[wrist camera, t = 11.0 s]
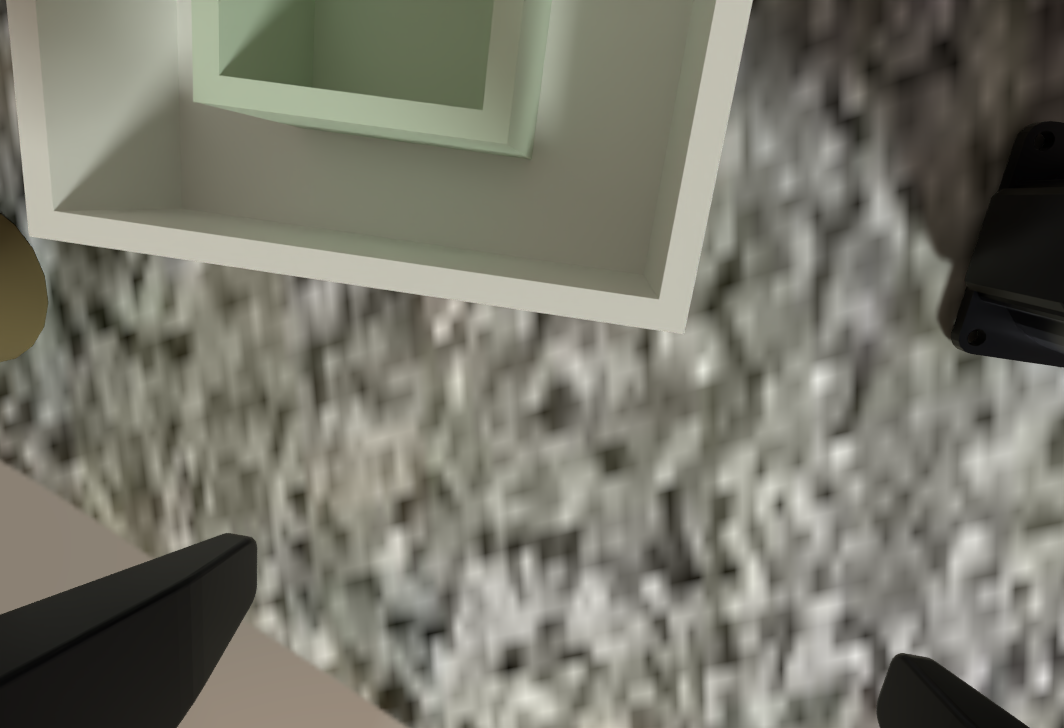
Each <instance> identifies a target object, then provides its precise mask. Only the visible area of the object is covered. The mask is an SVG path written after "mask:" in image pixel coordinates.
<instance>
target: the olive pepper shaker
mask: <svg viewBox="0 0 1064 728" xmlns="http://www.w3.org/2000/svg"><path fill="white" fill-rule="evenodd" d="M47 307H48V298H47V290H46V283H45V276H44V274H43V271H42V269H41V267H40V264H39V262H38V260H37V257H36V255H35V253H34V250H33V248H32V247H31V246H30V245H29V243H28V242H27V241H26V239H25V238H24V237H23V235H22V234H21V233H20V231H19V230H18V229H17V227H16V226H15V225H14V224H13V223H11V222H10V221H9V220H8V219H6V218H5V217H4V216H3V215H1V214H0V362H3V361H7V360H11V359H15V358H17V357H18V356H20V355H21V354H22V353H24V352H25V351H26V350H28V349H29V348H30V347H32V346H33V345H34V343H35V341H36V340H37V338H38V336H39V334H40V333H41V331H42V329H43V328H44V324H45V318H46V313H47Z"/></svg>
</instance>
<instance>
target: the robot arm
mask: <svg viewBox="0 0 1064 728" xmlns="http://www.w3.org/2000/svg"><path fill="white" fill-rule="evenodd" d="M1038 134H1042V135H1043V137H1044V144H1043V146H1042V147H1041V149H1039V150H1037V149H1036V148H1035V146H1034V140H1035V138H1036V136H1037V135H1038ZM965 282H966V284H967V287H966V290H965V293H964V296H963V300H962V303H961V306H960V309H959V312H958V315H957V318H956V321H955V324H954V327H953V330H952V334H951V340H952V343H953V345H954V346H955V347H956V348H957V349H960V350H962V351H965V352H967V353H970V354H976V355H983V356H989V357H996V358H1003V359H1010V360H1017V361H1023V362H1030V363H1037V364H1044V365H1051V366H1057V367H1064V123H1061V122H1053V121H1049V122H1040V123H1034V124H1031V125H1029V126H1027V127H1025V128H1024V129H1023V130H1022V131H1021V132H1020V133H1019V134H1018V136H1017V138H1016V140H1015V143H1014V146H1013V149H1012V152H1011V155H1010V158H1009V161H1008V164H1007V167H1006V170H1005V173H1004V176H1003V179H1002V182H1001V185H1000V188H999V191H998V193H996V194H995V195H994V196H993V197H992V198H991V201H990V204H989V207H988V210H987V213H986V216H985V219H984V222H983V225H982V228H981V231H980V234H979V237H978V240H977V244H976V247H975V250H974V253H973V256H972V259H971V262H970V265H969V268H968V271H967V274H966V277H965ZM975 329H977V331H978V336H977V338H976V339H975V340H974V341H973V342H971V343H969V342H968V335H969V334H970V332H972V331H973V330H975ZM256 589H257V544H256V541H255V540H254V539H253V538H252V537H248V536H243V535H237V534H231V533H225V534H222V535H219V536H216V537H214V538H211V539H208V540H205V541H202V542H200V543H197V544H194V545H191V546H189V547H186V548H183V549H180V550H178V551H175V552H172V553H169V554H167V555H164V556H161V557H158V558H156V559H153V560H150V561H147V562H144V563H142V564H140V565H136V566H133V567H131V568H128V569H125V570H122V571H120V572H117V573H114V574H111V575H109V576H106V577H103V578H101V579H98V580H95V581H92V582H89V583H87V584H84V585H81V586H78V587H75V588H73V589H70V590H68V591H64V592H62V593H59V594H56V595H53V596H51V597H48V598H45V599H42V600H40V601H37V602H34V603H31V604H29V605H26V606H23V607H20V608H17V609H15V610H12V611H9V612H7V613H4V614H1V615H0V728H177V727H178V725H179V724H180V722H181V721H182V720H183V718H184V716H185V715H186V713H187V712H188V711H189V709H190V708H191V706H192V705H193V703H194V702H195V700H196V698H197V697H198V695H199V694H200V692H201V690H202V689H203V687H204V686H205V684H206V682H207V680H208V679H209V677H210V675H211V674H212V672H213V670H214V668H215V667H216V665H217V663H218V661H219V660H220V658H221V656H222V655H223V653H224V651H225V649H226V647H227V646H228V644H229V642H230V641H231V639H232V637H233V636H234V634H235V632H236V630H237V628H238V627H239V625H240V623H241V622H242V620H243V618H244V617H245V615H246V613H247V611H248V610H249V608H250V606H251V604H252V602H253V600H254V597H255V594H256ZM877 719H878V723H879V726H880V728H1029V727H1028V726H1027V725H1025V724H1024V723H1022V722H1021V721H1020V720H1018V719H1017V718H1015V717H1014V716H1012V715H1011V714H1010V713H1008V712H1007V711H1005V710H1004V709H1002V708H1001V707H1000V706H998V705H997V704H995V703H994V702H993V701H991V700H990V699H988V698H987V697H985V696H984V695H983V694H981V693H980V692H978V691H977V690H976V689H974V688H973V687H971V686H970V685H968V684H967V683H966V682H964V681H963V680H961V679H960V678H958V677H957V676H956V675H954V674H953V673H951V672H950V671H949V670H947V669H946V668H944V667H943V666H941V665H940V664H939V663H937V662H936V661H934V660H933V659H930V658H927V657H922V656H916V655H911V654H905V653H900V654H897V655H896V656H895V657H894V658H893V659H892V661H891V663H890V666H889V669H888V672H887V675H886V677H885V680H884V683H883V686H882V689H881V691H880V694H879V697H878V701H877Z"/></svg>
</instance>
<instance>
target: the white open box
mask: <svg viewBox="0 0 1064 728" xmlns="http://www.w3.org/2000/svg"><path fill="white" fill-rule="evenodd" d="M752 2H753V0H552V5H551V12H550V20H549V28H548V36H547V44H546V52H545V59H544V67H543V75H542V83H541V91H540V99H539V106H538V114H537V122H536V130H535V138H534V145H533V153H532V160H531V159H523V158H516V157H509V156H502V155H494V154H487V153H480V152H472V151H465V150H458V149H450V148H443V147H436V146H429V145H421V144H414V143H407V142H399V141H392V140H385V139H377V138H370V137H363V136H355V135H348V134H341V133H334V132H326V131H319V130H312V129H304V128H299V127H295V126H291V125H287V124H282V123H278V122H274V121H270V120H266V119H262V118H258V117H254V116H250V115H246V114H242V113H238V112H234V111H230V110H226V109H221V108H217V107H213V106H209V105H205V104H201V103H197V102H193V64H192V11H191V0H6V3H7V13H8V23H9V34H10V44H11V54H12V64H13V75H14V85H15V95H16V106H17V116H18V126H19V137H20V147H21V157H22V168H23V178H24V188H25V198H26V209H27V219H28V229H29V236H30V237H37V238H44V239H50V240H57V241H64V242H70V243H77V244H84V245H91V246H97V247H104V248H111V249H117V250H124V251H131V252H137V253H144V254H151V255H157V256H164V257H171V258H178V259H184V260H191V261H198V262H204V263H211V264H218V265H224V266H231V267H238V268H244V269H251V270H258V271H264V272H271V273H278V274H285V275H291V276H298V277H305V278H311V279H318V280H325V281H331V282H338V283H345V284H351V285H358V286H365V287H372V288H378V289H385V290H392V291H398V292H405V293H412V294H418V295H425V296H432V297H438V298H445V299H452V300H459V301H465V302H472V303H479V304H485V305H492V306H499V307H505V308H512V309H519V310H525V311H532V312H539V313H545V314H552V315H559V316H566V317H572V318H579V319H586V320H592V321H599V322H606V323H612V324H619V325H626V326H632V327H639V328H646V329H653V330H659V331H666V332H673V333H679V334H684V332H685V327H686V322H687V317H688V313H689V308H690V303H691V298H692V293H693V288H694V283H695V279H696V274H697V269H698V264H699V259H700V254H701V249H702V245H703V240H704V235H705V230H706V225H707V220H708V215H709V211H710V206H711V201H712V196H713V191H714V186H715V181H716V177H717V172H718V167H719V162H720V157H721V152H722V147H723V143H724V138H725V133H726V128H727V123H728V118H729V113H730V109H731V104H732V99H733V94H734V89H735V84H736V79H737V75H738V70H739V65H740V60H741V55H742V50H743V45H744V41H745V36H746V31H747V26H748V21H749V16H750V11H751V7H752Z"/></svg>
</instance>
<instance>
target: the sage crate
mask: <svg viewBox="0 0 1064 728" xmlns="http://www.w3.org/2000/svg"><path fill="white" fill-rule="evenodd" d="M551 5H552V0H191V11H192V64H193V102H197V103H201V104H205V105H209V106H213V107H217V108H221V109H226V110H230V111H234V112H238V113H242V114H246V115H250V116H254V117H258V118H262V119H266V120H270V121H274V122H278V123H282V124H287V125H291V126H295V127H299V128H304V129H312V130H319V131H326V132H334V133H341V134H348V135H355V136H363V137H370V138H377V139H385V140H392V141H399V142H407V143H414V144H421V145H429V146H436V147H443V148H450V149H458V150H465V151H472V152H480V153H487V154H494V155H502V156H509V157H516V158H523V159H531V160H532V153H533V145H534V138H535V130H536V122H537V114H538V106H539V99H540V91H541V83H542V75H543V67H544V59H545V52H546V44H547V36H548V28H549V20H550V12H551Z"/></svg>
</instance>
